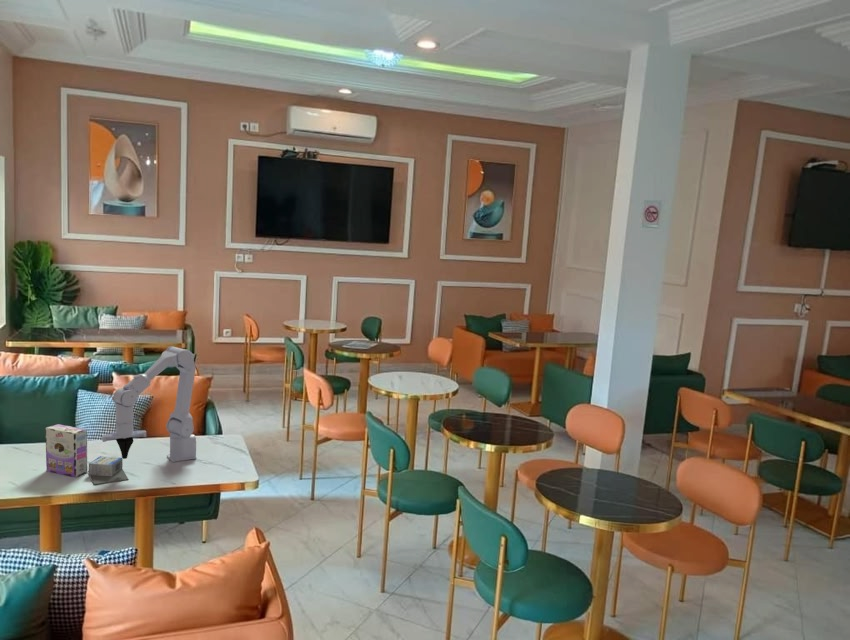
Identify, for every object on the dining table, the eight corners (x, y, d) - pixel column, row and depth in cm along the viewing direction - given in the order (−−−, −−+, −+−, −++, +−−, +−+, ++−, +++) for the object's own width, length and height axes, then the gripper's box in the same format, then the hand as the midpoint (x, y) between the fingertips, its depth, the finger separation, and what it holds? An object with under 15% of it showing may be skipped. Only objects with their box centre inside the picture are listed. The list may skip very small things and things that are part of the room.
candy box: (88, 472, 238) (87, 428, 236) (74, 478, 233) (74, 433, 230) (59, 466, 242) (58, 423, 240) (45, 471, 237) (44, 427, 235)
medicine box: (112, 465, 234) (88, 463, 234) (112, 476, 235) (88, 475, 235) (122, 457, 242) (99, 455, 242) (122, 469, 242) (99, 467, 242)
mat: (120, 467, 245) (120, 466, 245) (128, 479, 234) (128, 478, 234) (88, 471, 239) (88, 470, 239) (94, 485, 227) (94, 484, 227)
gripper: (143, 416, 244) (143, 451, 246) (100, 420, 236) (100, 457, 238) (147, 421, 238) (147, 457, 240) (103, 426, 230) (104, 463, 232)
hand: (124, 457), depth 238 cm, fingers closed
